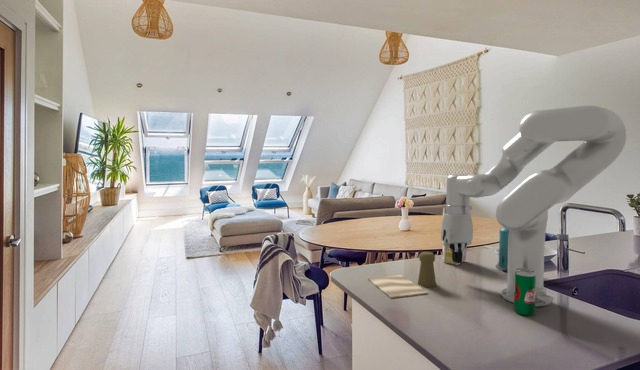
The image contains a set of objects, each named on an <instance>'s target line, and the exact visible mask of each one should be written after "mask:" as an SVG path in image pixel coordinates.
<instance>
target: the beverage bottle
mask: <svg viewBox="0 0 640 370" xmlns="http://www.w3.org/2000/svg"><path fill="white" fill-rule="evenodd" d="M498 231H499V246H498V248H499V249H498V267H499V268H502V269H505V270H507V264H508V235H509V229H506V228H504V227H503V226H501V228H500V229H499V230H498Z"/></svg>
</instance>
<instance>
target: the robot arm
mask: <svg viewBox="0 0 640 370" xmlns="http://www.w3.org/2000/svg"><path fill="white" fill-rule="evenodd" d="M518 127H519V129H518V130H519V132H518V133H517V134H516V135H514V137H513V138H511V139H510V140H509V141H507V143H506V144H504V145H503V147H502V148H501V152H502V153H501V154H502V156H501V159H500V160H499V161H498V163H496V164H495V166H493V167H492V168H490V170H489V171H488V172H486V173H481V174H479V173H478V174H469V175H467V174H449V175H448V176H446V190H445V192H446V193H445V195H446V196H445V197H446V198H445V199H446V200H445V201H446V202H445V203H446V205H445V208H446V214H444V216H443V215H442V223H441V231H440V240H441V241H444V242H443V246H446V247H449V248H450V249H451V250H452V261H453V262H456V263H461V264H462V263H463V262H462V252H463V251H464V248H465V247H466V246H471V245H472V244H473V242H472V241H473V238H474V229H473V228H474V227H473V226H474V225H473V220H472V219H473V218H472V215H471V213H470V211H472V209H473V208H472V206H471V204H470V203H471V201H470V199H471V198H473V199H478V198H485V197H491V196H494V195H496V194H497V193H499V192H500V191H502V190H503V189H505V187H507V186H509V185H510V184H511V183H512V182H513V181H514V180H515V179H516V178H517V177H518V176H519V175H520V174H521V172H522V171H523V170H524V169H525V167H526V166H528V165H529V163H530V162H532V161H534V159H536V158H537V157H538V156H539V155H541V154H542V153H543V152H544V151H546V150H547V149H548V148H549V147H551V146H552V145H553V144H554V143H555V142H574V141H576V142H579V141H580V142H581V141H582V143H581V144H580V145H579V146H578V147H576V148H574V150H572V151H571V152H570V153H568V154H567V155H566V156H565V157H564V158H563V159H562V160H561V161H560V162H558V163H556V164H555V165H554V166H553V167H551V168H550V169H543V170H539V171H537V172H536V171H535V172H534V173H532V174H531V175H529V176H528V177H527V178H525V179H524V180H523V181H522V182H521V183H519V185H517V186H516V187H515V188H514V189H513V190H512V191H510V192H509V193H508V194H507V195H506V196H505V197H503V199H502V200H501V201H500V202H499V203H498V205H497V207H496V209H495V218H496V221H497V222H498V224H499V225H500V226H501V227H504V228H506V229H509V235H508V264H507V269H506V270H507V271H506V273H507V274H506V275H507V276H506V277H507V278H506V288H503V289H502V290H501V291H500V295H501V297H502V299H504V300H506V301H508V302H510V303H513V304H514V279H515V272H516V269H517V268H527V269H531V270H534V273H535V275H536V293H535V307H545V306H547V305H548V306H549V305H550V304H551V303H552V302H553V300H555V299H554V297H553V296H552V295H550V294H547V288H545V287H544V277H545V276H544V275H545V274H544V273H545V250H546V249H545V248H546V246H545V245H546V231H547V226H548V219H549V210H550V209H551V208H553V207H554V206H555V205H558V204H561V203H564V202H566V201H569V200H570V199H571V198H572V197H573V196H574V195H576V193H578V192H579V191H580V190H581V189H582V188H584V187H585V186H587V184H589V183H590V182H592V181H593V180H594V179H595V178H596V177H598V175H600V174H601V173H602V172H604V171H605V170H606V169H607V168H609V167H610V166H611V165H612V164H613V163H614V162H615V161H616V160H617V159H618V157H619V156H620V155H621V153H622V152H623V150H624V148H625V145H626V142H627V130H626V126H625V124H624V121H623V120H622V118H621V116H620V115H618V114H617V113H616V112H615V111H613V110H611V109H608V108H604V107H600V106H597V105H579V106H569V107H562V108H561V107H560V108H559V107H558V108H551V109H539V110H534V111H531V112H529V113H527V114H526V115H525V116H524V117H523V118H522V119H521V121H520V123H519V126H518Z"/></svg>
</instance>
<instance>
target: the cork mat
mask: <svg viewBox="0 0 640 370" xmlns="http://www.w3.org/2000/svg"><path fill="white" fill-rule="evenodd" d="M367 280H368V281H369V282H370V283H371V284H372V285H374V286H375V287H376V288H377V289H378V290H379V291H381V292H382V293H383V294H385V295H386V296H387V297H388V298H389V299H396V298H397V299H398V298H405V297H413V296H421V295H428V294H429V292H428V291H427V290H425V289H424V288H422V286H420V285H418V284H416V283H415V282H413V281H411V280H410V279H408V278H407V277H406V276H404V275H402V274H397V275H388V276H379V277H370V278H369V277H368V278H367Z"/></svg>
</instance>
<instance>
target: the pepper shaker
mask: <svg viewBox="0 0 640 370" xmlns="http://www.w3.org/2000/svg"><path fill="white" fill-rule="evenodd" d="M418 259H419V262H420V265H419V272H418V279H417V285H418V284H419V285H418V286H420V285H421V286H420V287H423V286H424V287H423V288H434V287H436V286H437V282H436V281H437V280H436V274H435V266H434V262H435V261H436V256H435V254H434V253H433V252H430V251H422V252H420V253H419V255H418Z"/></svg>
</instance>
